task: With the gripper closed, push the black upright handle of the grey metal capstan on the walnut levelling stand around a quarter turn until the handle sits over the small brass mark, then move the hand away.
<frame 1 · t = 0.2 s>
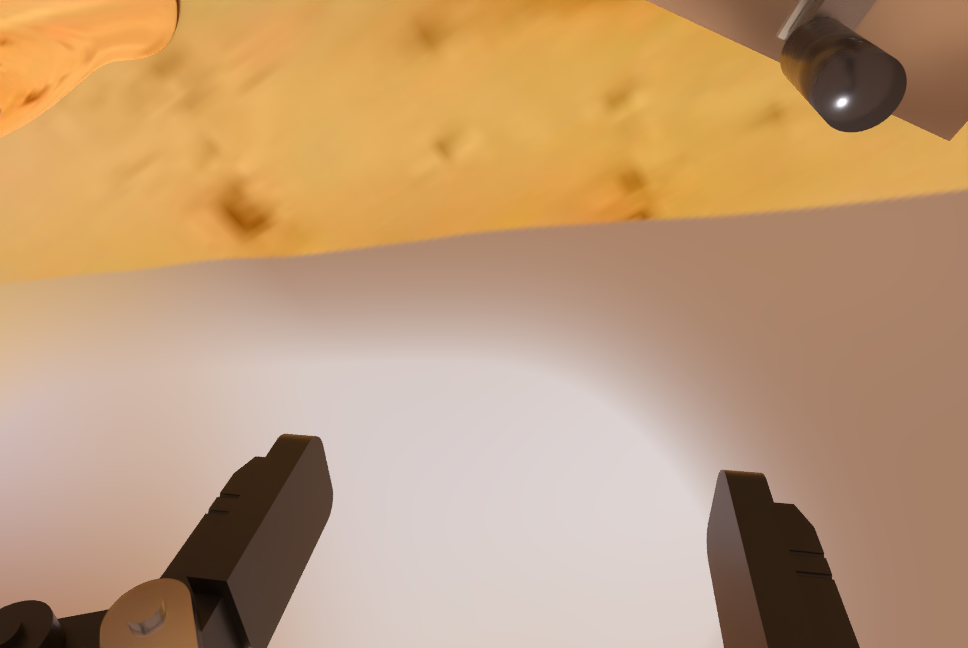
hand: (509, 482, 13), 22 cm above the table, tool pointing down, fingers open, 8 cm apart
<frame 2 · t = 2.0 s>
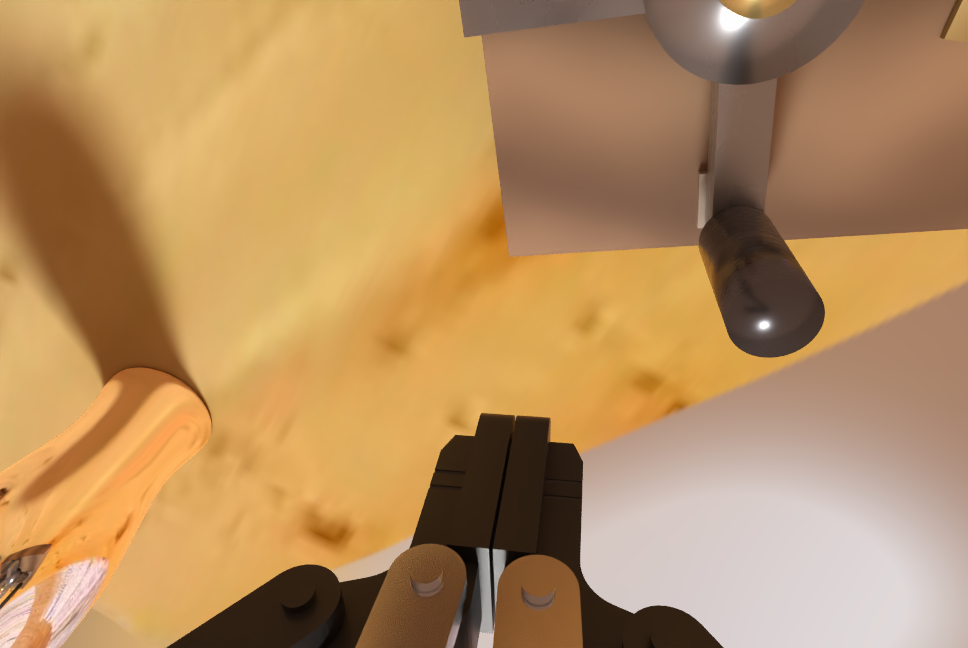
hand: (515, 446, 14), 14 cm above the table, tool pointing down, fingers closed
beer glass: (162, 408, 35), on the table
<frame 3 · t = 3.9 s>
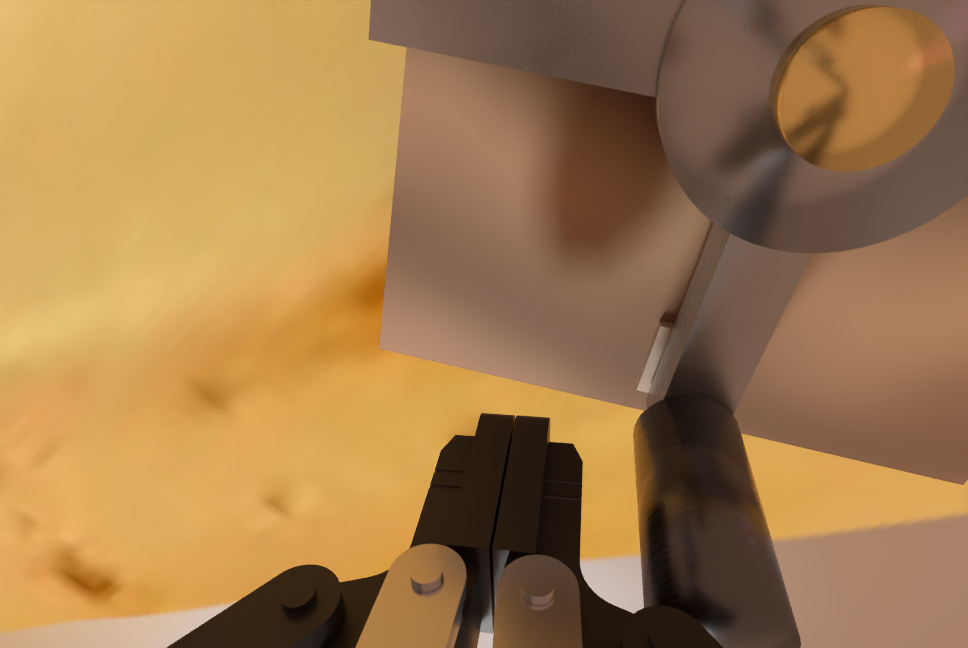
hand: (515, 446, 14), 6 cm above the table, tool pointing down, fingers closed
capstan: (865, 139, 9), point 6 cm above the table, hinge at 0.2°, touching gripper
stand: (783, 52, 14), on the table
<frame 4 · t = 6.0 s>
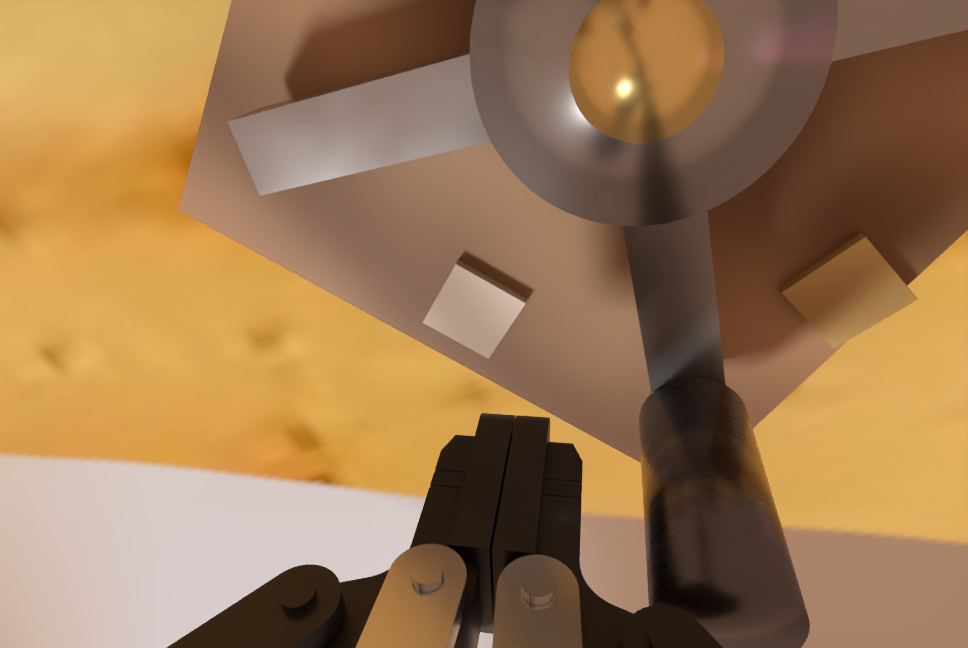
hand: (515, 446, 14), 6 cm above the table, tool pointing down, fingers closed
capstan: (651, 107, 10), point 6 cm above the table, hinge at 43.3°, touching gripper
stand: (634, 34, 14), on the table
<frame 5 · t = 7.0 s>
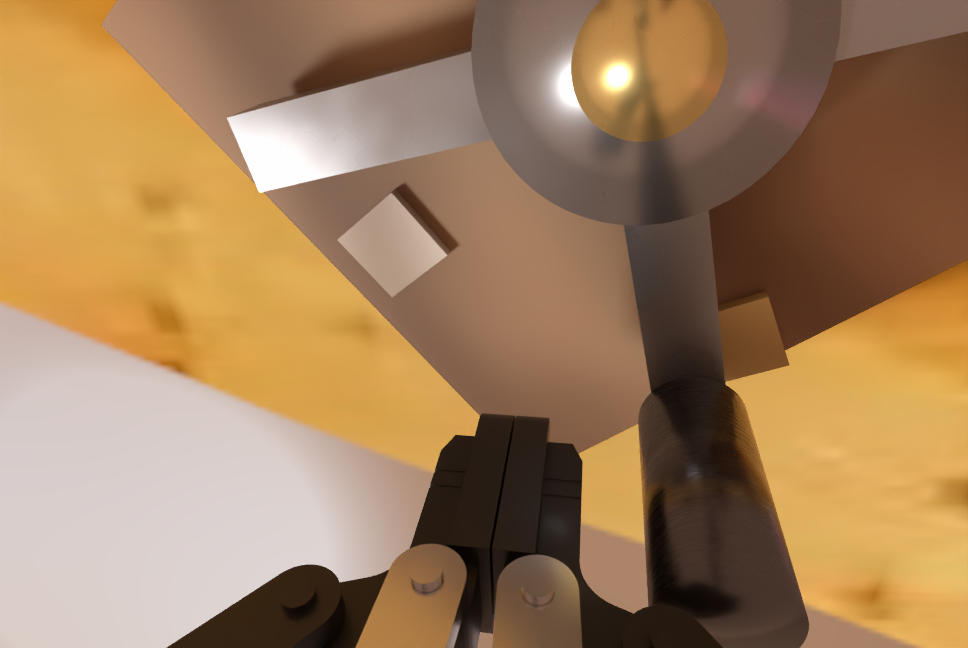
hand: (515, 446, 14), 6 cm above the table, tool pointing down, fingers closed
capstan: (653, 106, 9), point 6 cm above the table, hinge at 64.0°, touching gripper
stand: (636, 32, 14), on the table
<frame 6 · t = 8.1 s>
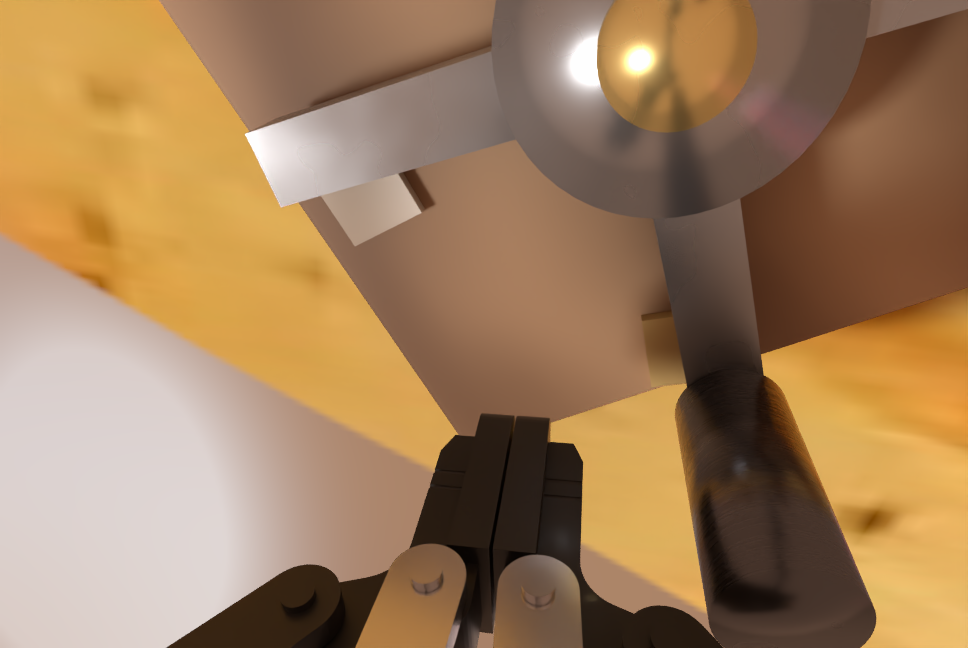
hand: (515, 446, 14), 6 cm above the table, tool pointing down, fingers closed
capstan: (685, 95, 9), point 6 cm above the table, hinge at 78.8°
stand: (651, 23, 14), on the table
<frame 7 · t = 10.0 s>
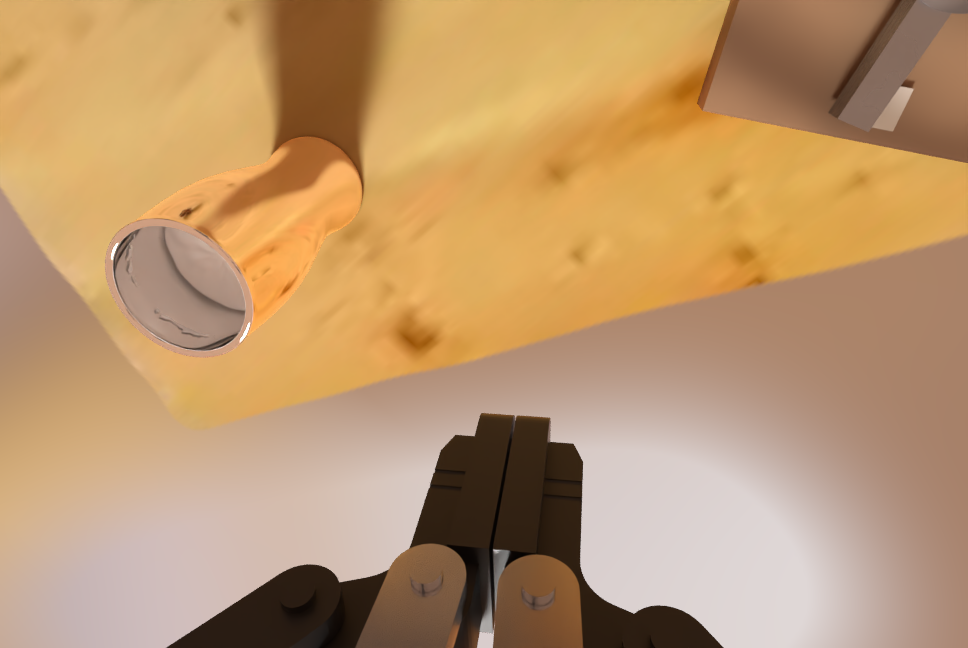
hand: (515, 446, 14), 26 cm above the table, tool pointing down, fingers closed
beer glass: (317, 183, 39), on the table
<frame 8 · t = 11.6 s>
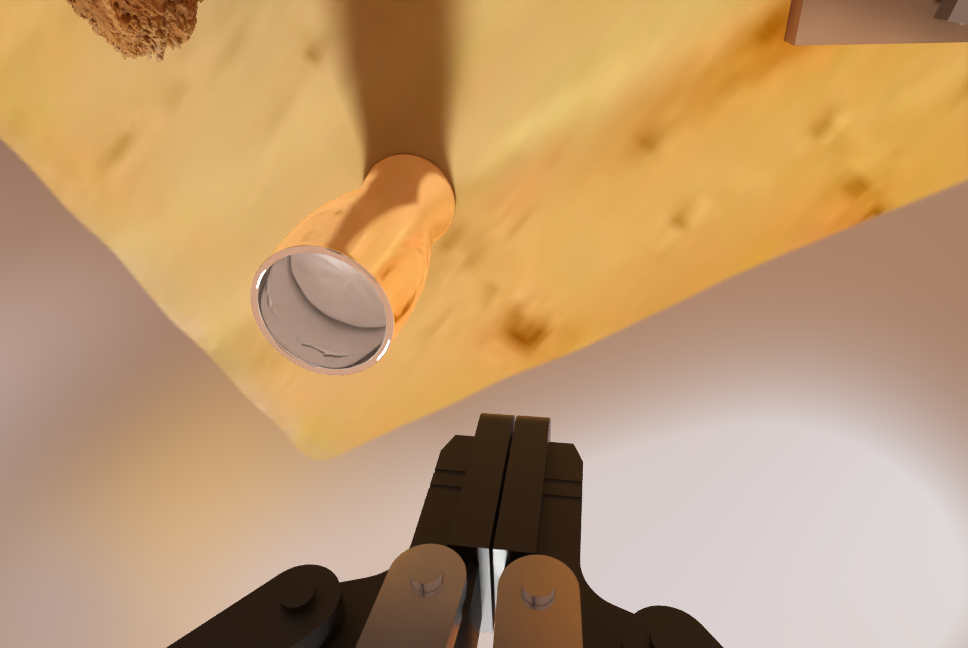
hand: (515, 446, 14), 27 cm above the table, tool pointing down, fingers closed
beer glass: (410, 199, 40), on the table
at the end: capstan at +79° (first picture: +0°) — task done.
